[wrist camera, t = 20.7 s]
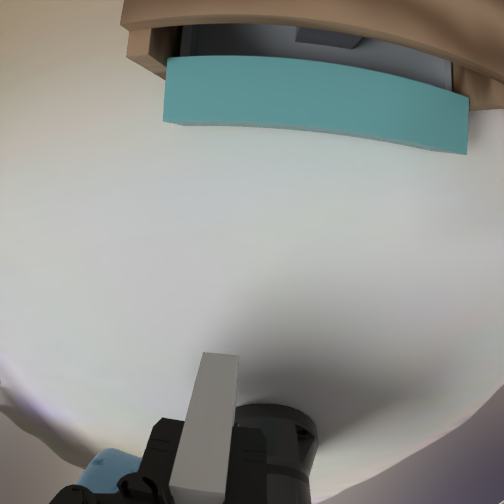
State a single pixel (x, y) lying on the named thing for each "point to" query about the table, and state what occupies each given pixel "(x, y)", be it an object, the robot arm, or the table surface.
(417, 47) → the wooden drawer cabinet
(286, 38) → the drawer
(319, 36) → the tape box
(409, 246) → the table surface
